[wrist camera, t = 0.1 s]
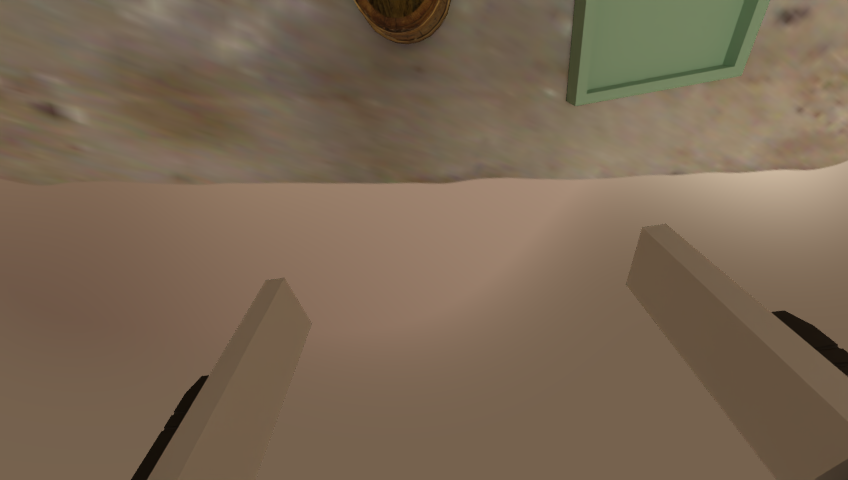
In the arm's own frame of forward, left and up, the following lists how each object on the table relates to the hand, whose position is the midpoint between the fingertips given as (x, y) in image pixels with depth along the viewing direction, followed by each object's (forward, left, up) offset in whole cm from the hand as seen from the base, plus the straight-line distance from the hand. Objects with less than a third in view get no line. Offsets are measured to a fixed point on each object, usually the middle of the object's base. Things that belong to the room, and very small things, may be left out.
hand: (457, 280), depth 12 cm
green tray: (-6, +23, -28) cm, 37 cm away
